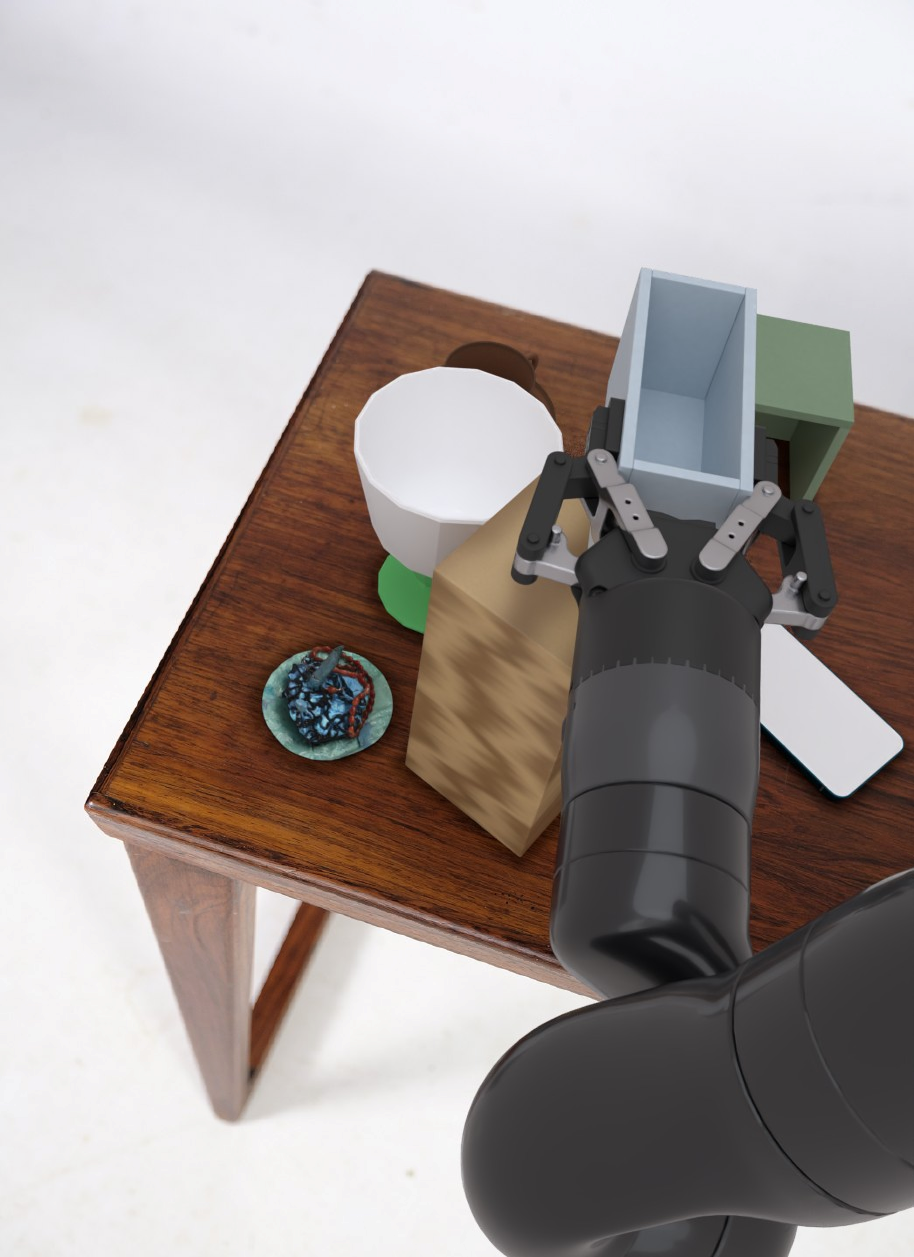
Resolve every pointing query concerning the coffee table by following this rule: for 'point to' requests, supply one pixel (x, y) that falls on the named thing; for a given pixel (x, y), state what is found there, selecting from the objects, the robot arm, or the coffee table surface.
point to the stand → (497, 679)
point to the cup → (443, 469)
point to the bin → (687, 395)
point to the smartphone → (820, 718)
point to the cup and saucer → (502, 366)
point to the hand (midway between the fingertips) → (682, 425)
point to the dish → (327, 703)
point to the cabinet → (804, 395)
